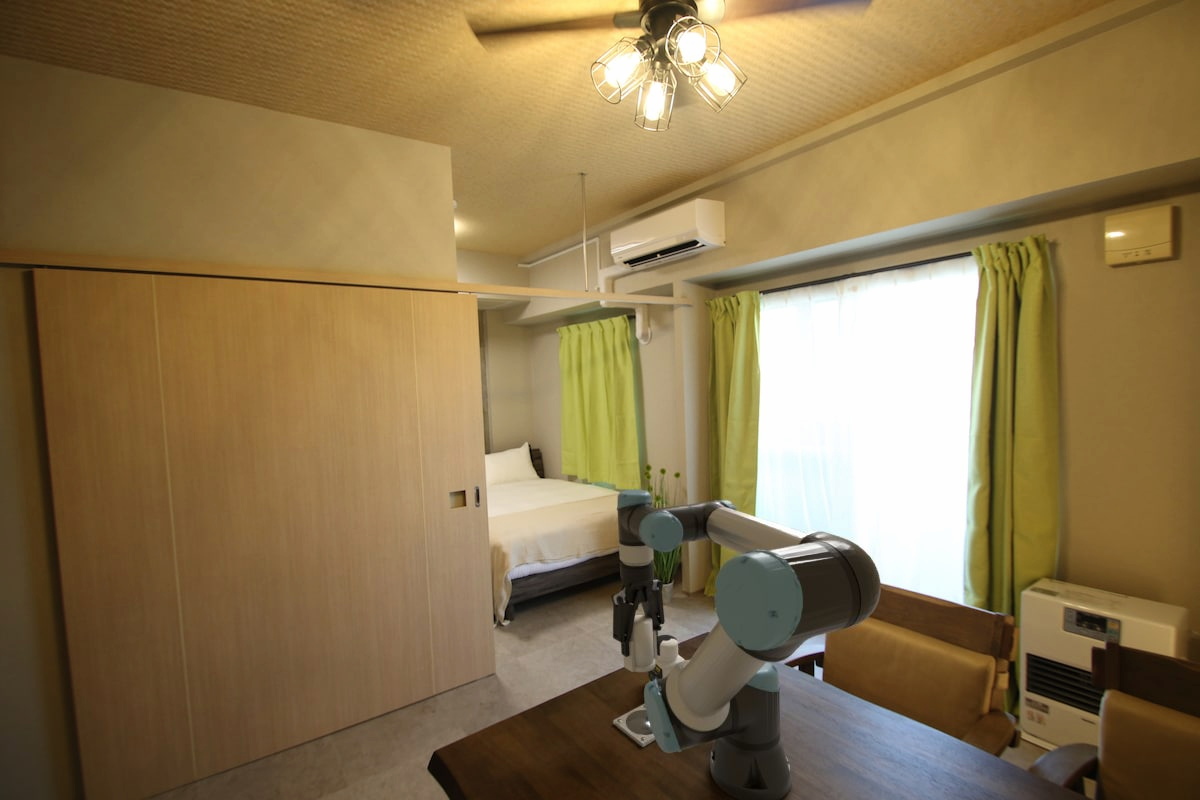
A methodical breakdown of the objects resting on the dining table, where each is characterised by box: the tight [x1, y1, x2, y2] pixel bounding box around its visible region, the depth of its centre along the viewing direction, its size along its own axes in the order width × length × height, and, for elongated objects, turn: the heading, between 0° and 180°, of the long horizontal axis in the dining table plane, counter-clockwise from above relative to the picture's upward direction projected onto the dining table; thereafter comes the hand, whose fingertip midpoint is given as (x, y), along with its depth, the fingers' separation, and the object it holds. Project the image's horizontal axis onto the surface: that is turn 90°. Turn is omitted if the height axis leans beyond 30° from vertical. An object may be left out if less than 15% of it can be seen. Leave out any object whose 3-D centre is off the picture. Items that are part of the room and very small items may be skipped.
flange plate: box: [612, 703, 656, 748], centre depth 118 cm, size 10×10×1 cm
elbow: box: [631, 614, 655, 673], centre depth 118 cm, size 9×6×10 cm, turn 38°
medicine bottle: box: [647, 634, 686, 682], centre depth 133 cm, size 7×7×12 cm
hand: (640, 663), depth 117 cm, fingers closed on elbow, 6 cm apart
